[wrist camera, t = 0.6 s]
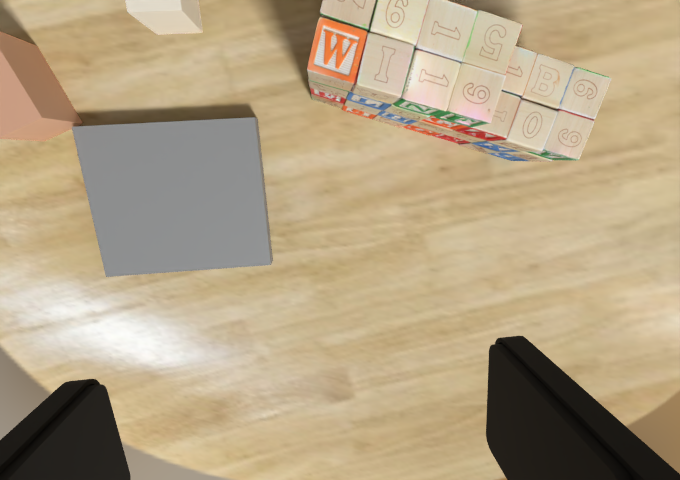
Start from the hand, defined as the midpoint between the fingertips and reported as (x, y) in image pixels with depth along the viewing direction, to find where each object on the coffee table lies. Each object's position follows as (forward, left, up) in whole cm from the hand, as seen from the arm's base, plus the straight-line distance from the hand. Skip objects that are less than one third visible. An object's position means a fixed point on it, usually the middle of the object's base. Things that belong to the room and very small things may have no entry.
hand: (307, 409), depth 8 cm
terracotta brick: (-13, -24, -28) cm, 39 cm away
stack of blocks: (-11, +11, -28) cm, 32 cm away
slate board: (-3, -13, -28) cm, 31 cm away
